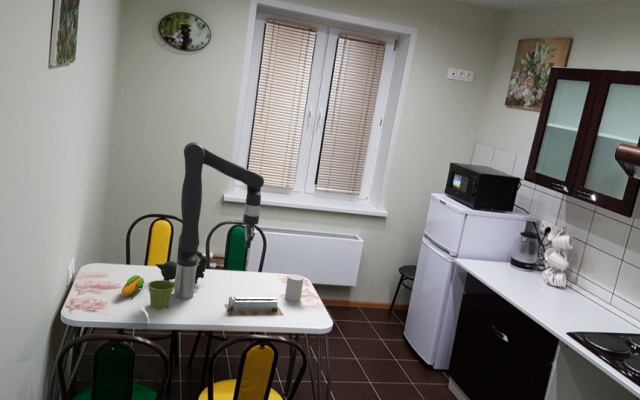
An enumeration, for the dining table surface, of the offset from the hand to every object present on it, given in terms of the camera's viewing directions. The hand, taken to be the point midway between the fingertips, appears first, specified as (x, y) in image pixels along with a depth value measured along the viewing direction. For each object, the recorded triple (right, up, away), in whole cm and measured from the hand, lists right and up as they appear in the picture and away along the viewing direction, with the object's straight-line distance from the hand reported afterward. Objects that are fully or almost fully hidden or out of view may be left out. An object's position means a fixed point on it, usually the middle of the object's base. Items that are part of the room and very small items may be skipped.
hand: (247, 247), depth 266 cm
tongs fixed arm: (+4, -29, -8) cm, 30 cm away
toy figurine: (-37, -20, +15) cm, 44 cm away
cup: (+21, -28, +15) cm, 38 cm away
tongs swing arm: (+5, -28, -6) cm, 29 cm away
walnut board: (+4, -30, -7) cm, 31 cm away
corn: (-54, -22, -7) cm, 59 cm away
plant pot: (-38, -26, -18) cm, 49 cm away
